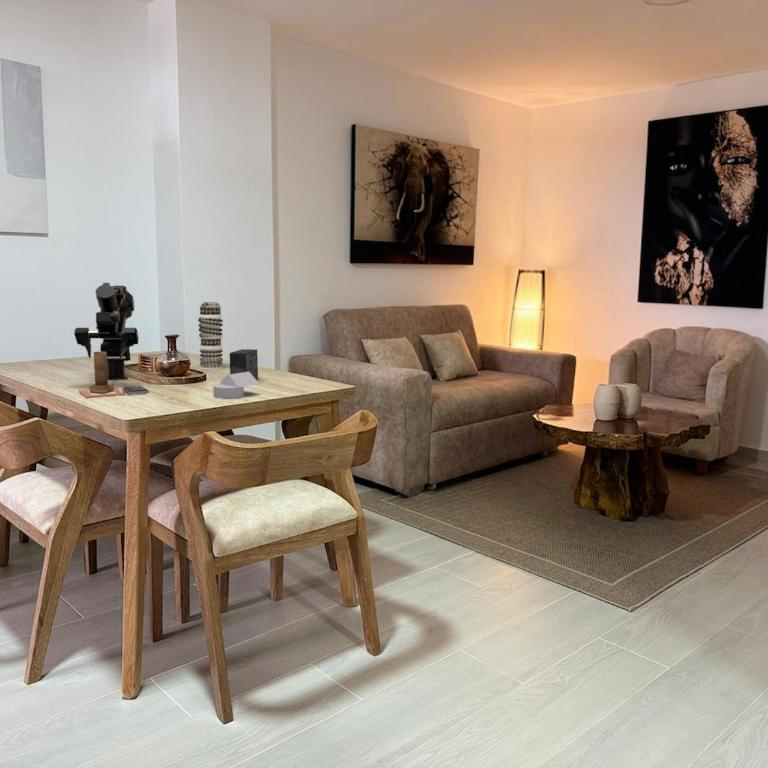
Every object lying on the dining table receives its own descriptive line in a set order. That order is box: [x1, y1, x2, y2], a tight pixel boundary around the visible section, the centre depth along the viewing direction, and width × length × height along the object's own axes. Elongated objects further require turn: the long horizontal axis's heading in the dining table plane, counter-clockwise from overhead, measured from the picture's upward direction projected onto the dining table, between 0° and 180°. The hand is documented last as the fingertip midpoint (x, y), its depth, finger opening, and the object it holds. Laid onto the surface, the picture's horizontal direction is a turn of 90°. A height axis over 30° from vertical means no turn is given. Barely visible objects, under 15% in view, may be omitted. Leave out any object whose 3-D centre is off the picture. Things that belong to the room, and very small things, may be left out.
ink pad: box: [122, 385, 150, 396], centre depth 225 cm, size 8×6×1 cm
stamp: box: [88, 351, 115, 394], centre depth 222 cm, size 5×5×12 cm
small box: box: [229, 348, 259, 380], centre depth 250 cm, size 11×6×10 cm, turn 168°
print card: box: [78, 387, 126, 399], centre depth 222 cm, size 11×11×1 cm
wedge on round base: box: [213, 372, 260, 400], centre depth 223 cm, size 9×7×13 cm
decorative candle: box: [197, 301, 224, 371], centre depth 276 cm, size 9×9×25 cm
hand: (104, 357), depth 229 cm, fingers open, 9 cm apart
